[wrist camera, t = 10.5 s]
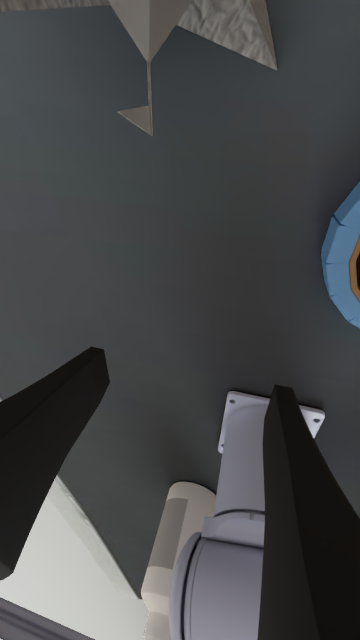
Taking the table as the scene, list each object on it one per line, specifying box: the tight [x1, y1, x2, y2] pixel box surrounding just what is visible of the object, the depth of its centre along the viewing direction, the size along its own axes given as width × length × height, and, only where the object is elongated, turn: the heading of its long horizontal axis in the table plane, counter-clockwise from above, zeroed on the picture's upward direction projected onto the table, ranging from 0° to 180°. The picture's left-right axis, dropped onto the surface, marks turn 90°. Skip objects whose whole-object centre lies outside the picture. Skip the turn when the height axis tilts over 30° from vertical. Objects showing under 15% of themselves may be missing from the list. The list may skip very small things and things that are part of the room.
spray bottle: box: [141, 482, 216, 640], centre depth 30 cm, size 7×7×18 cm
